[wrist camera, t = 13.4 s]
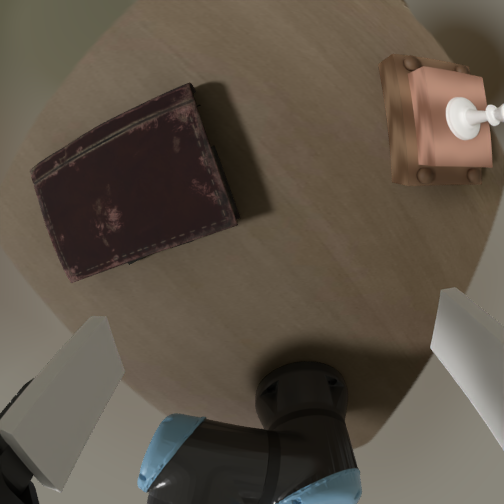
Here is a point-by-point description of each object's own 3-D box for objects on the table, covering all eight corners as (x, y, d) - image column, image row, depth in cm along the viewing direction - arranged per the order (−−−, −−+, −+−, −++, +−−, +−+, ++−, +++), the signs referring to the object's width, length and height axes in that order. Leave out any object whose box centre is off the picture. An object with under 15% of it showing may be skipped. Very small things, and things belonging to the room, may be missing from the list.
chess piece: (438, 106, 25) (497, 94, 15) (465, 91, 24) (523, 79, 15) (457, 147, 26) (519, 150, 17) (483, 130, 25) (543, 130, 16)
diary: (47, 164, 37) (26, 166, 32) (195, 87, 34) (186, 77, 29) (88, 277, 42) (71, 290, 37) (242, 223, 39) (240, 232, 34)
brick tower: (461, 180, 36) (500, 188, 27) (392, 182, 36) (425, 190, 28) (449, 73, 31) (486, 60, 22) (378, 64, 32) (407, 43, 23)
